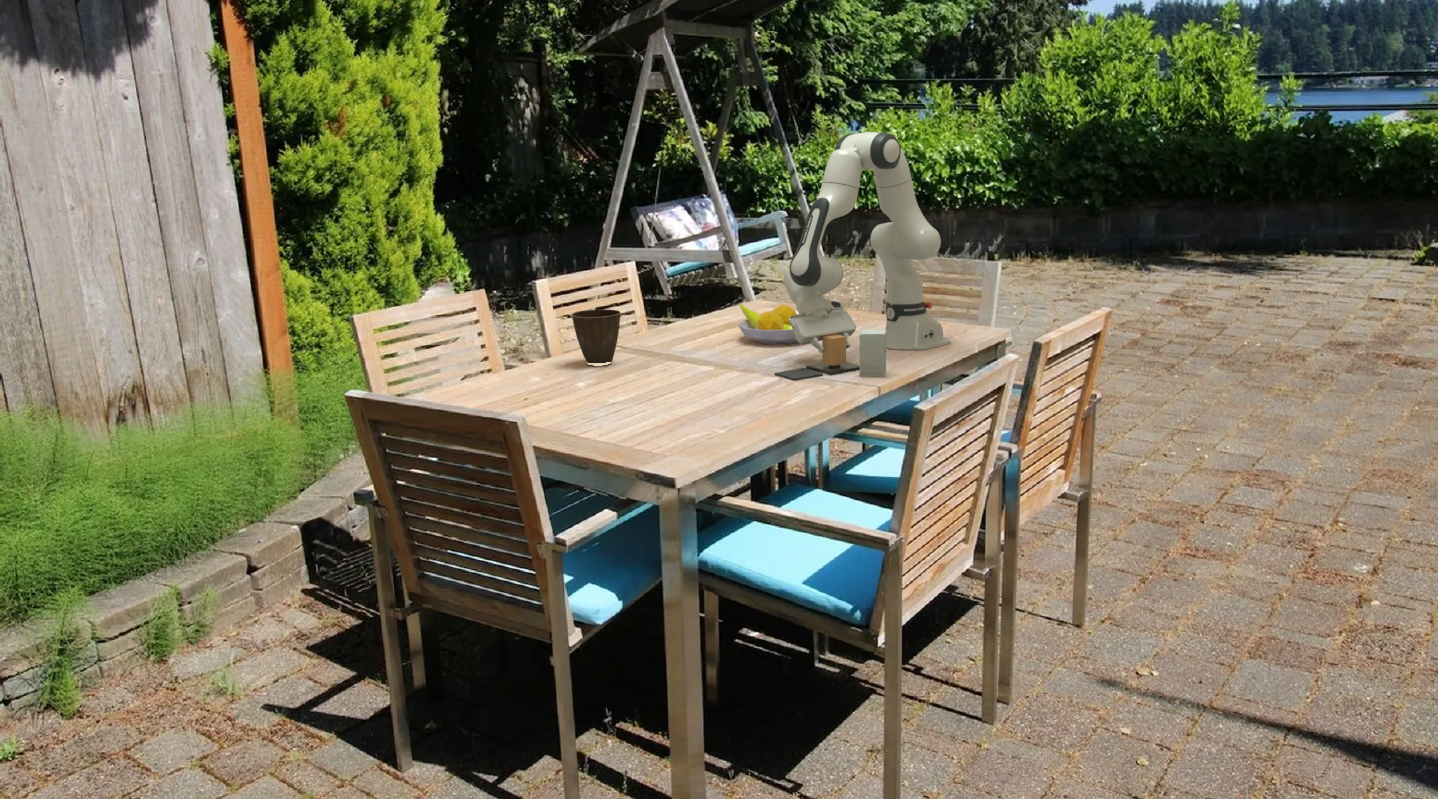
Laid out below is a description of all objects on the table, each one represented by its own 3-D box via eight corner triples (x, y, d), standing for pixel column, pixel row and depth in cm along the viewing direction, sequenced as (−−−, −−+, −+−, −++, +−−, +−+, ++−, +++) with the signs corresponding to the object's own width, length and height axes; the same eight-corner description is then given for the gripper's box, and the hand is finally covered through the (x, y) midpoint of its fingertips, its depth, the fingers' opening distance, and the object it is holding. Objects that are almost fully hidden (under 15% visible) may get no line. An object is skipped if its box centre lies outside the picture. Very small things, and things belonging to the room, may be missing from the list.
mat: (802, 370, 356) (802, 368, 356) (822, 375, 348) (822, 373, 347) (774, 374, 351) (774, 372, 351) (794, 380, 342) (794, 378, 342)
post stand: (838, 363, 364) (837, 333, 362) (863, 369, 354) (863, 339, 352) (806, 368, 358) (805, 338, 356) (830, 375, 348) (830, 344, 346)
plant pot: (565, 367, 371) (562, 316, 367) (592, 357, 384) (589, 308, 380) (606, 370, 364) (603, 318, 360) (632, 361, 377) (629, 310, 373)
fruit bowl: (834, 340, 399) (834, 306, 396) (768, 351, 384) (767, 316, 382) (783, 329, 422) (782, 297, 419) (719, 339, 407) (718, 306, 404)
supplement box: (885, 377, 343) (885, 333, 340) (858, 377, 344) (858, 333, 341) (886, 372, 350) (886, 329, 347) (861, 371, 351) (861, 329, 348)
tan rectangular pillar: (835, 360, 359) (835, 334, 357) (846, 363, 355) (846, 336, 353) (822, 362, 356) (822, 336, 354) (832, 365, 352) (832, 338, 350)
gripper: (790, 309, 352) (811, 347, 346) (846, 302, 362) (867, 338, 357) (782, 322, 357) (802, 360, 351) (837, 314, 367) (857, 351, 361)
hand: (835, 349), depth 354 cm, fingers open, 8 cm apart
